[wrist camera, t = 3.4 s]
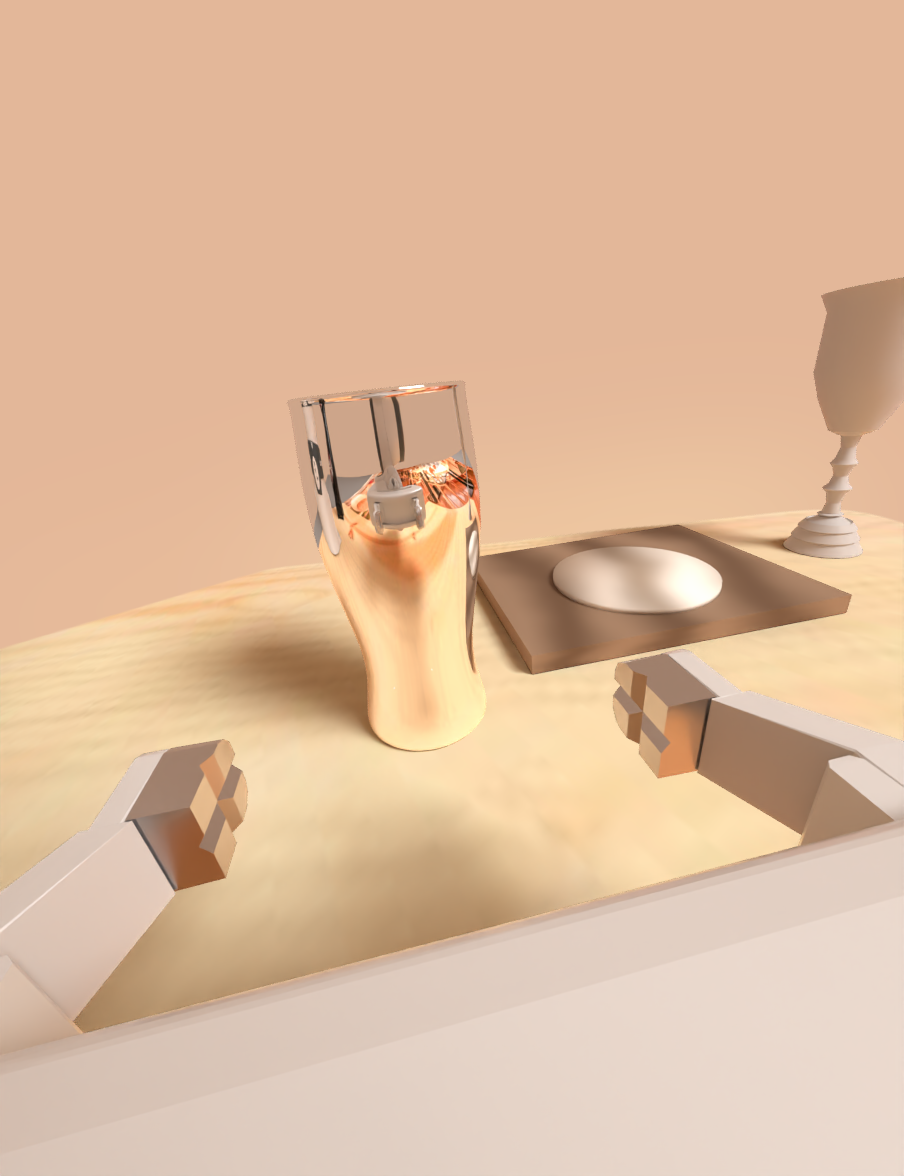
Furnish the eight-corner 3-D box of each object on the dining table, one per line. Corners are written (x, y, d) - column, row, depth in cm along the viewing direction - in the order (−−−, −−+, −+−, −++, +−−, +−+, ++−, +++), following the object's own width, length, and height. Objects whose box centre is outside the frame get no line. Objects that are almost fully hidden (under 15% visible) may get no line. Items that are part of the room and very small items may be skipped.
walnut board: (532, 674, 24) (531, 649, 23) (470, 570, 38) (469, 553, 38) (846, 612, 26) (853, 588, 26) (676, 536, 41) (678, 520, 40)
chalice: (811, 567, 32) (888, 277, 25) (748, 539, 38) (795, 300, 31) (907, 555, 32) (1012, 263, 25) (829, 529, 38) (895, 289, 31)
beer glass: (347, 693, 24) (274, 402, 18) (459, 654, 26) (429, 386, 20) (381, 783, 18) (290, 397, 12) (522, 723, 21) (506, 374, 14)
